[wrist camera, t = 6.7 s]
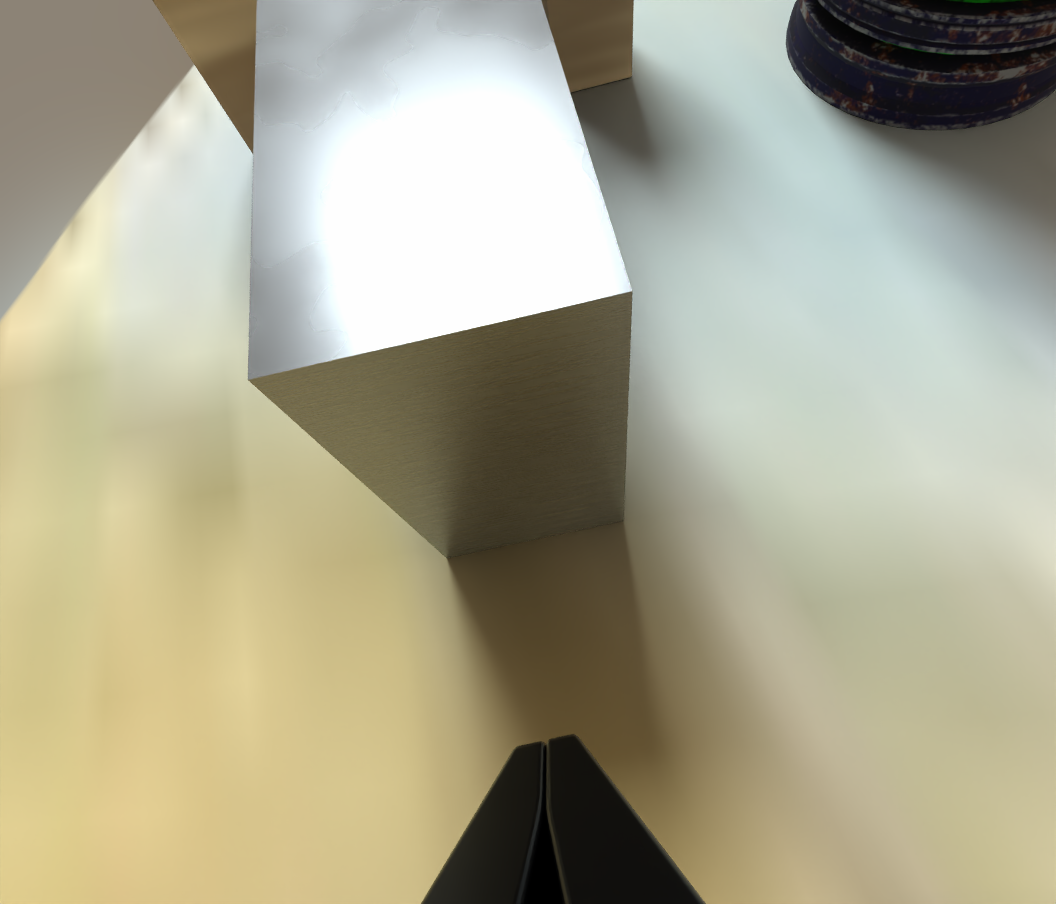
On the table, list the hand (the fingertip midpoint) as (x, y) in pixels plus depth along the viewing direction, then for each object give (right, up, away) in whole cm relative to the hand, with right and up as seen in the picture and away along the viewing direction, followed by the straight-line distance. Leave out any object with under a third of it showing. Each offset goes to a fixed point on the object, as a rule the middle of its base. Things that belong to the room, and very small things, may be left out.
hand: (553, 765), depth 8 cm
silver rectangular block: (-2, +11, +13) cm, 17 cm away
